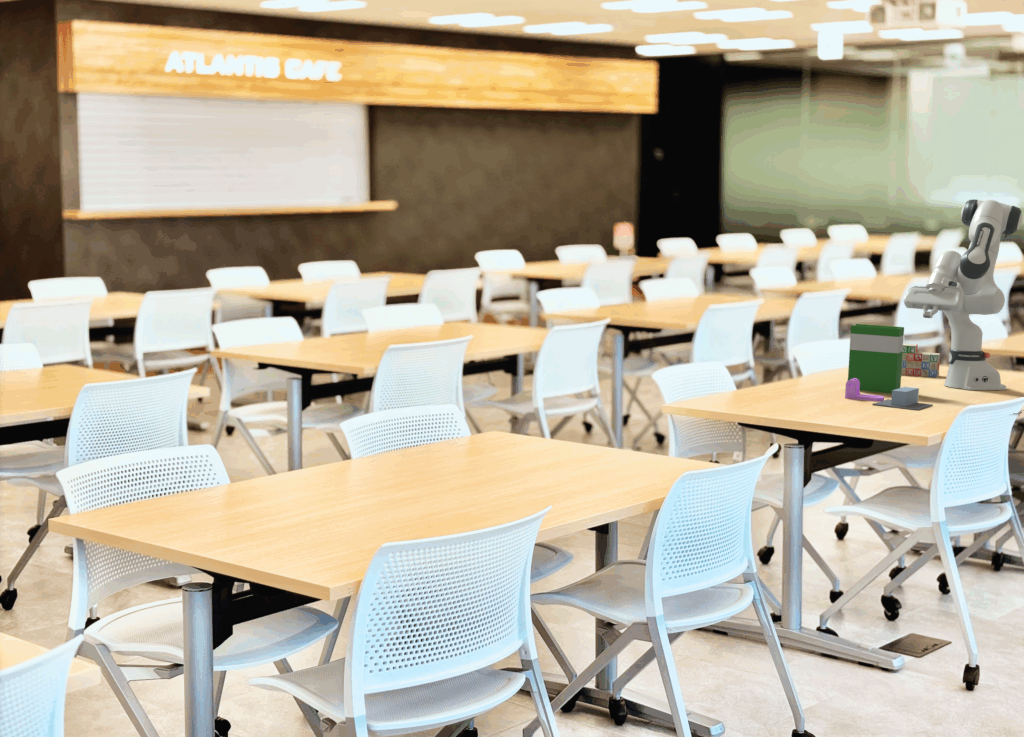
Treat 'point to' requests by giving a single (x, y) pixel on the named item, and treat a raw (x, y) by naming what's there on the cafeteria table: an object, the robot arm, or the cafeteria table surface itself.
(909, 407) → the mat
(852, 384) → the bracket
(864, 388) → the hardback book
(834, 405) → the cafeteria table surface
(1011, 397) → the cafeteria table surface
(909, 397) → the slate block
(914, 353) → the stack of blocks
